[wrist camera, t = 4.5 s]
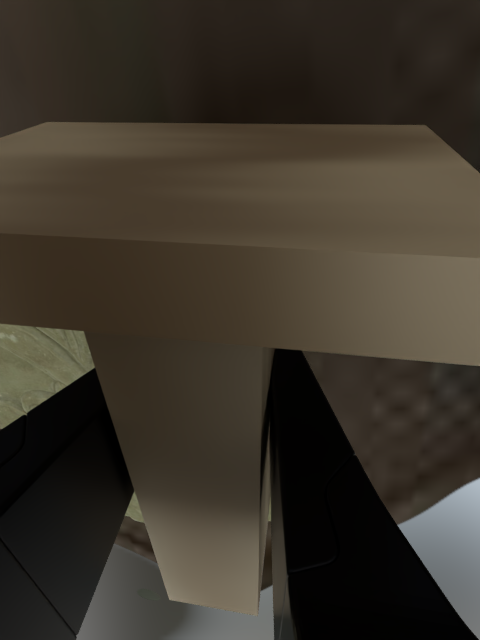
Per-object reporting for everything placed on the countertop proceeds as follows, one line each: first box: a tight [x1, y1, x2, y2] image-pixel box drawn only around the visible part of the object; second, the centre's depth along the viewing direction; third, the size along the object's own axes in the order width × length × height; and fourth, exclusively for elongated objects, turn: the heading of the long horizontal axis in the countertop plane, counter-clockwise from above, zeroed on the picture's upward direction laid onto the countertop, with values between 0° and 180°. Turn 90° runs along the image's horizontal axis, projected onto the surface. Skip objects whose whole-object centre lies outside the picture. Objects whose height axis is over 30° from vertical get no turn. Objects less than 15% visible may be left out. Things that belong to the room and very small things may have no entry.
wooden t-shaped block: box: [0, 122, 480, 616], centre depth 8 cm, size 7×11×5 cm, turn 1°
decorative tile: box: [0, 324, 271, 523], centre depth 25 cm, size 19×20×4 cm
